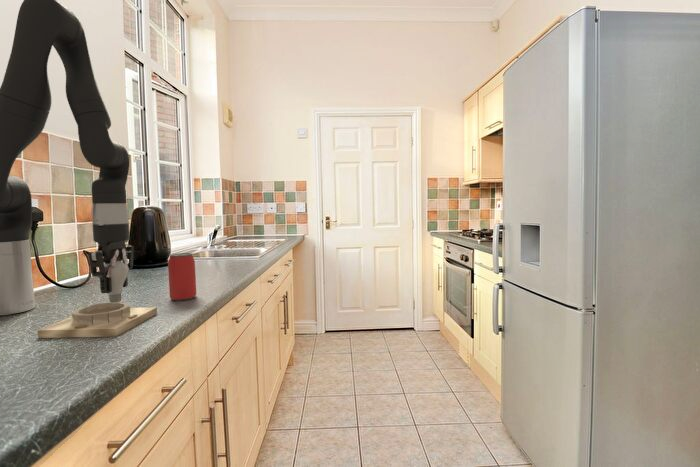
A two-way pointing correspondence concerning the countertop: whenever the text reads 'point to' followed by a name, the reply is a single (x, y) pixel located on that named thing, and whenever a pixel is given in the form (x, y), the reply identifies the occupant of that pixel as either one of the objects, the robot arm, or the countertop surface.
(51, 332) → the lamp holder
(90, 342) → the countertop surface
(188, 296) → the beer can
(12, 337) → the countertop surface
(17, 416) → the countertop surface
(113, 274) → the lightbulb
